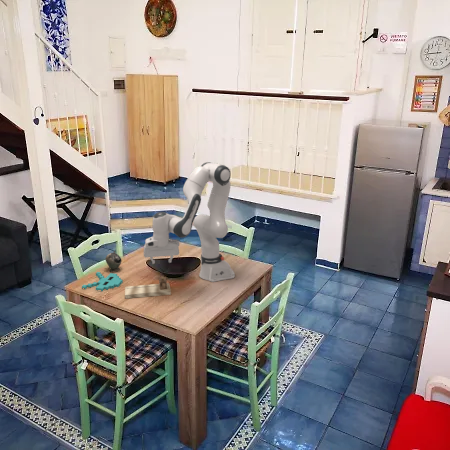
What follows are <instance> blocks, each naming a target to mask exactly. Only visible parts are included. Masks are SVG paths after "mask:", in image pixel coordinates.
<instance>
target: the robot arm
mask: <svg viewBox="0 0 450 450" xmlns="http://www.w3.org/2000/svg"><path fill="white" fill-rule="evenodd" d="M208 182H212V188H211V189H210V190H211V191H210V193H209V194H210V195H209V197H208V201H207V204H206V205H207V208H208V210H209V215H208V214H203V213H199V214H197V213H198V210H199V208H200V205H201V203H202V193H203V192H204V189H205V187H206V186H207V183H208ZM182 191H183V194H184V196H185V198H186V200H187V202H188V203H187V204H188V205H187V208H186V209H185V213H184V214H183V217H180V216H178V215H176V214H169V213H167V212H165V211H159V212H156V213H155V214H153V217H152V230H153V233H152V236H151V237H148V238H146V239H145V240H144V242H145V244H144V246H143V257H144V258H149V259H150V261H151V262H152V265H154V264H156V261H155V260H156V259H153V258H155V257H156V258H159V257H170V258H168V263H169V264H170V263H172V260H173V259H174V256H179V255H180V249H179V248H180V247H179V246H180V241H179V240H178V239H170V235H169V234H170V233H172V234H175V236H177V237H178V238H180V239H181V238H182V239H183V238H186V237H187V236H189V235H190V233H191V232H192V228H193V227H194V228H195V230H196V231H197V234H198V236H199V240H200V244H201V245H200V246H201V247H200V248H201V254H200V271H199V275H198V277H200V278H201V279H203V280H206V281H209V282H211V283H216V282H219V281H225V280H231V279H234V278H235V277H236V275H235V271H234V269H232V268H231V265H230V263H229V262H228V261H226V260H225V257H224V256H223V255H222V254H221V253H220V242H219V240H218V239H223V238H224V237H225V236H227V234H228V231H229V227H228V224H227V222H226V215H225V212H226V207H227V203H228V199H229V196H230V191H231V169H230V168H229V167H228V166H226V165H225V164H221V163H218V162H217V163H216V162H208V161H207V162H204V163H203V164H201V165H200V166H199V165H198V166H196V167H194V169H193V170H192V171H191V173H190V174H189V175H188V177H187V179H186V180H185V182H184V184H183V188H182ZM217 238H218V239H217Z"/></svg>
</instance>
